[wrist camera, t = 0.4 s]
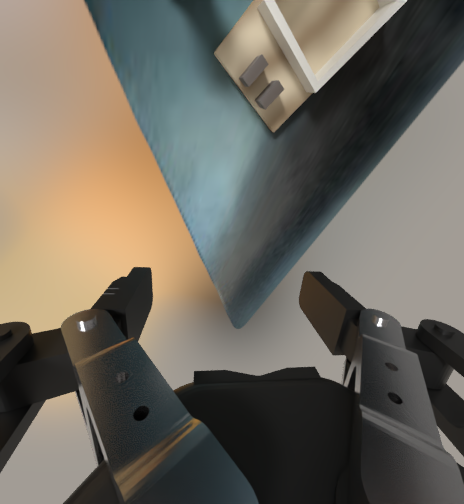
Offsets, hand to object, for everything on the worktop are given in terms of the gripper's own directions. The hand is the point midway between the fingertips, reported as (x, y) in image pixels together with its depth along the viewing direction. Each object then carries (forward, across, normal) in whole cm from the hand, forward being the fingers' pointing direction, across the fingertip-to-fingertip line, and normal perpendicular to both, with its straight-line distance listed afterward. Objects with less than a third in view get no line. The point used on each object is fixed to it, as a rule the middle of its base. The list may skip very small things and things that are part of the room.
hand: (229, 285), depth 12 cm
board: (+24, -10, -22) cm, 34 cm away
